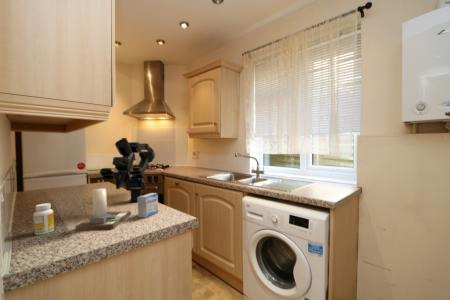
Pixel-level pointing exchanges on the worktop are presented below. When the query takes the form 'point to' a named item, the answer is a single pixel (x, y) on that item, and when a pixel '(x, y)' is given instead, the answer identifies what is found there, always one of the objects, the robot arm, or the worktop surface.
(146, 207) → the medicine box
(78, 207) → the worktop surface
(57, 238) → the worktop surface
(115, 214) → the base
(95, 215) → the white tall cylinder
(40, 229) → the supplement bottle
